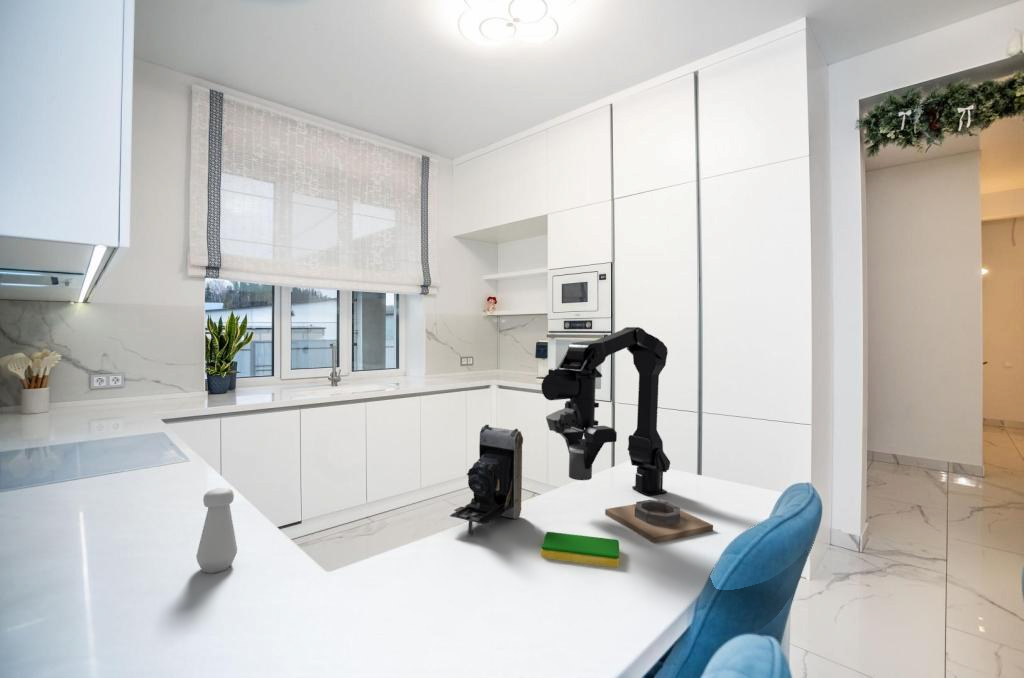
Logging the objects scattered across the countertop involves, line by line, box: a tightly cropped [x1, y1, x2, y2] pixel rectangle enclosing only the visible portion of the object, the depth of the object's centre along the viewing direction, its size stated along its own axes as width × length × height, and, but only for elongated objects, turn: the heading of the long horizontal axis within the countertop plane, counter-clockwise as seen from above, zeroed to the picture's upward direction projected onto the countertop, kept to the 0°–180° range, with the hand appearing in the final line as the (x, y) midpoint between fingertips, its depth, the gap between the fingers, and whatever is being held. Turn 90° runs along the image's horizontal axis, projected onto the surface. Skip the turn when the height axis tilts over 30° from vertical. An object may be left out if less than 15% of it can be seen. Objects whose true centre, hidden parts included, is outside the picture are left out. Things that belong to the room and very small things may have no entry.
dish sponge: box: [540, 531, 620, 568], centre depth 87 cm, size 7×14×2 cm, turn 78°
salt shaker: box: [195, 487, 238, 574], centre depth 78 cm, size 6×6×13 cm
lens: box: [568, 444, 593, 481], centre depth 107 cm, size 5×5×7 cm
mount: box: [604, 499, 714, 544], centre depth 103 cm, size 16×16×3 cm
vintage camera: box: [449, 424, 524, 536], centre depth 99 cm, size 10×16×20 cm, turn 152°
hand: (580, 465), depth 107 cm, fingers closed on lens, 5 cm apart
